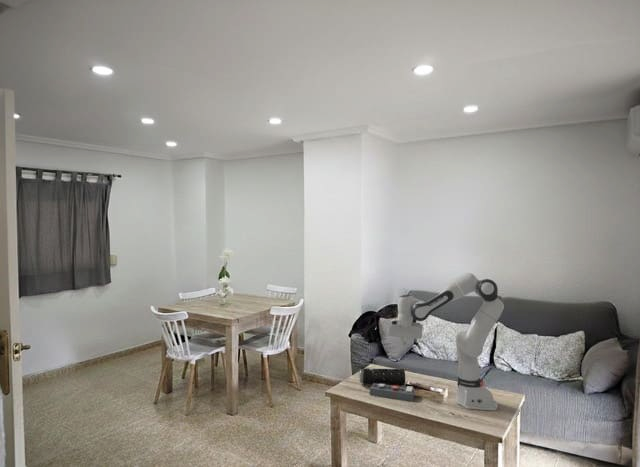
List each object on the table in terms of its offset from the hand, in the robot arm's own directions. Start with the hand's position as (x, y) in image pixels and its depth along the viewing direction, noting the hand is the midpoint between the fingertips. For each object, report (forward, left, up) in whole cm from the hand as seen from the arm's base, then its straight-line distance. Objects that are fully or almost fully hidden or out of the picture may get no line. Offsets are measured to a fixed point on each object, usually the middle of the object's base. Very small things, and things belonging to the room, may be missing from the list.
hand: (405, 344), depth 249 cm
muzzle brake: (+16, -7, -30) cm, 34 cm away
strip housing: (+6, +7, -29) cm, 31 cm away
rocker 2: (-4, +7, -24) cm, 25 cm away
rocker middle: (+5, +7, -24) cm, 26 cm away
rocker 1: (+13, +7, -24) cm, 28 cm away
